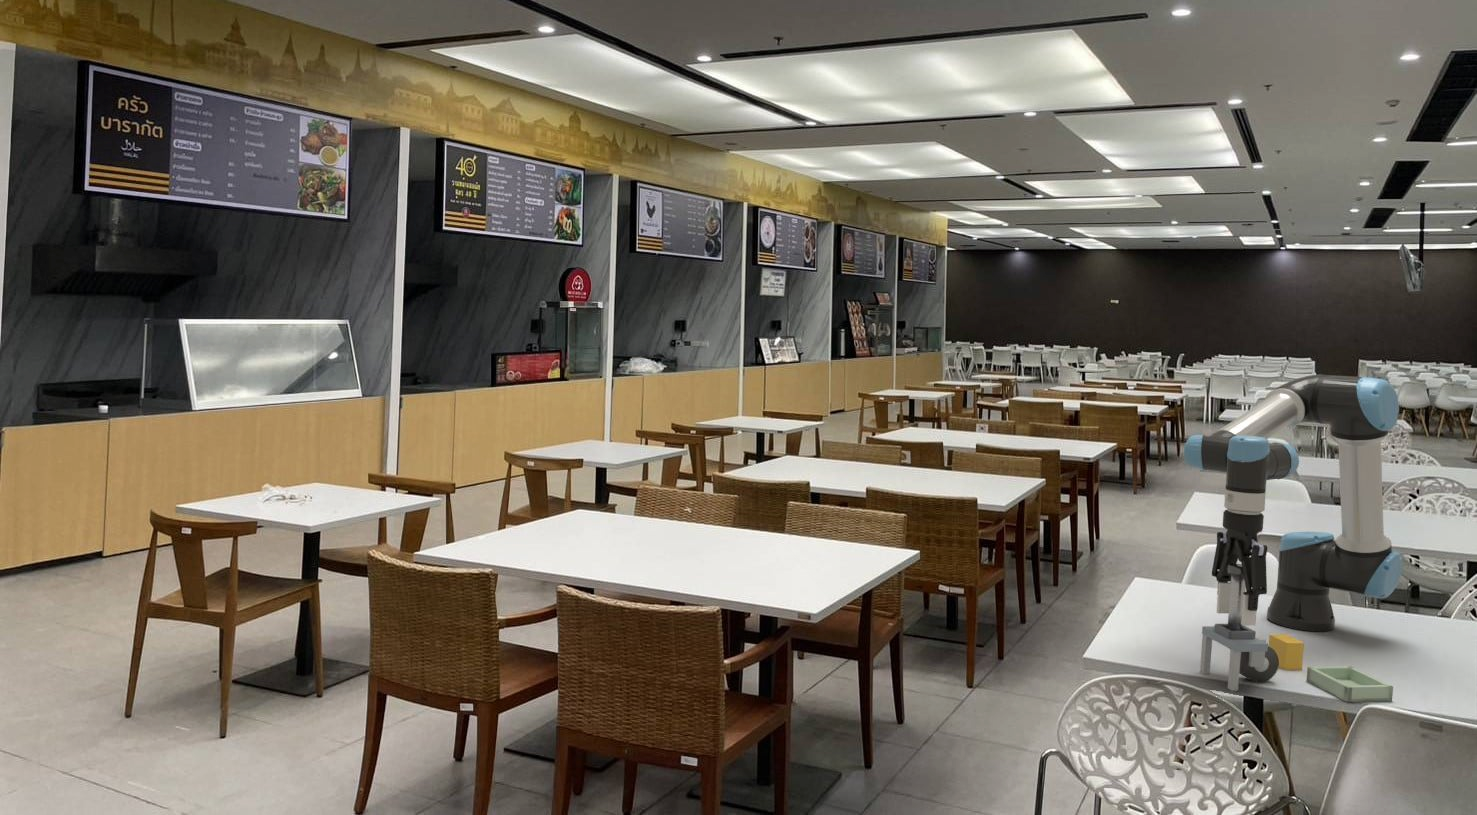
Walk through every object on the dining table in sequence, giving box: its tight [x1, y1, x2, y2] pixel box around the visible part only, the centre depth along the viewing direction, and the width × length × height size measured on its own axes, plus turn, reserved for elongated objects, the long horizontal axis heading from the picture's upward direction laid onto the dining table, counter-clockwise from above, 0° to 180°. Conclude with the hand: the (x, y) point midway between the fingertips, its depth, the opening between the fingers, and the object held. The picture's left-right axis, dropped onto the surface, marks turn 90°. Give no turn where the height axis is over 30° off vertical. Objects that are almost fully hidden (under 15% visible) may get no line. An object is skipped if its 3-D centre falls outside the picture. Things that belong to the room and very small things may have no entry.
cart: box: [1199, 623, 1279, 692], centre depth 220 cm, size 12×13×11 cm
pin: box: [1227, 563, 1246, 631], centre depth 218 cm, size 4×4×15 cm
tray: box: [1306, 665, 1394, 703], centre depth 216 cm, size 10×12×3 cm
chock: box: [1268, 633, 1305, 671], centre depth 231 cm, size 4×6×6 cm, turn 8°
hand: (1235, 618), depth 219 cm, fingers open, 8 cm apart
